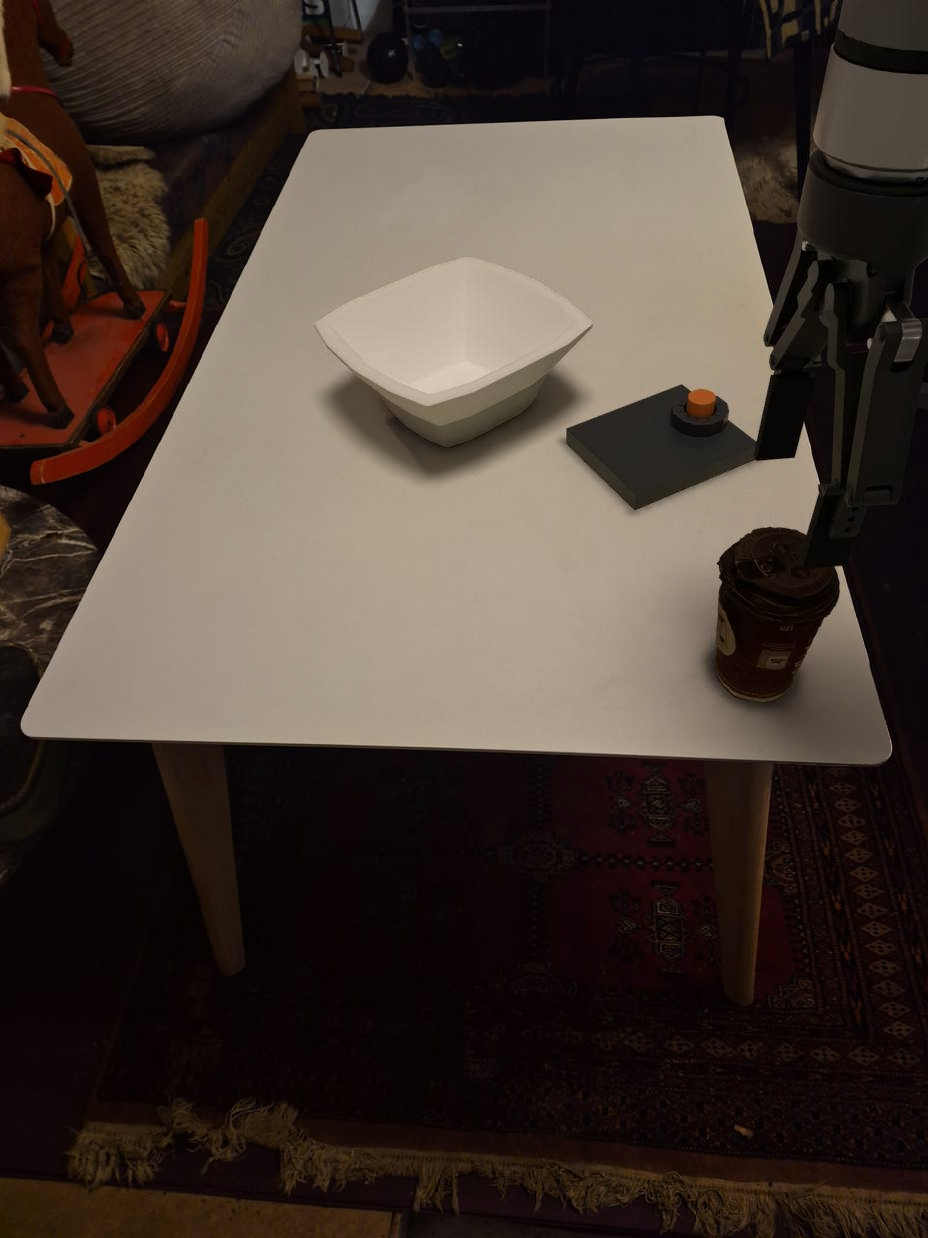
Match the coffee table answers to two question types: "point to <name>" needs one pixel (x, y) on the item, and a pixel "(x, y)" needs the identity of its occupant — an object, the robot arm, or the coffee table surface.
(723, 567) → the coffee cup
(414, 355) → the bowl
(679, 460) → the scale
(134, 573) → the coffee table surface
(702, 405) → the button
